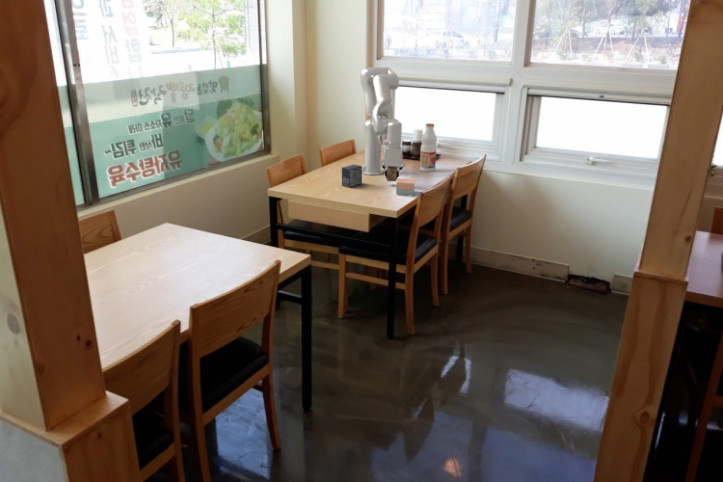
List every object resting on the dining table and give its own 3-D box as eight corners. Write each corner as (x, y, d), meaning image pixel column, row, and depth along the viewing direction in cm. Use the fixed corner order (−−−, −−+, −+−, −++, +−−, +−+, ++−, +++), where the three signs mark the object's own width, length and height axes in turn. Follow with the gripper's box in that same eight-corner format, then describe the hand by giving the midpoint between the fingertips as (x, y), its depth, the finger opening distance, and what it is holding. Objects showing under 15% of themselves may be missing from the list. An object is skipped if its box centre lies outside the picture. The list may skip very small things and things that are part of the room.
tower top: (396, 189, 307) (396, 182, 306) (397, 184, 316) (397, 178, 315) (413, 190, 306) (414, 183, 305) (414, 185, 315) (414, 179, 314)
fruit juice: (419, 168, 365) (422, 122, 356) (435, 169, 364) (438, 123, 354) (418, 171, 357) (421, 124, 347) (434, 172, 355) (437, 125, 346)
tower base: (396, 195, 309) (396, 189, 308) (397, 190, 317) (397, 184, 316) (413, 196, 308) (413, 189, 307) (414, 191, 316) (414, 185, 315)
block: (386, 180, 323) (387, 168, 320) (387, 178, 328) (388, 165, 325) (396, 181, 323) (396, 168, 320) (396, 178, 327) (397, 166, 324)
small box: (353, 182, 331) (353, 163, 327) (362, 184, 327) (362, 165, 323) (340, 185, 323) (341, 167, 320) (350, 188, 319) (350, 169, 316)
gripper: (377, 145, 315) (375, 178, 322) (409, 147, 313) (407, 180, 320) (378, 142, 322) (377, 174, 329) (410, 144, 320) (407, 176, 327)
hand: (391, 177), depth 325 cm, fingers closed on block, 5 cm apart
